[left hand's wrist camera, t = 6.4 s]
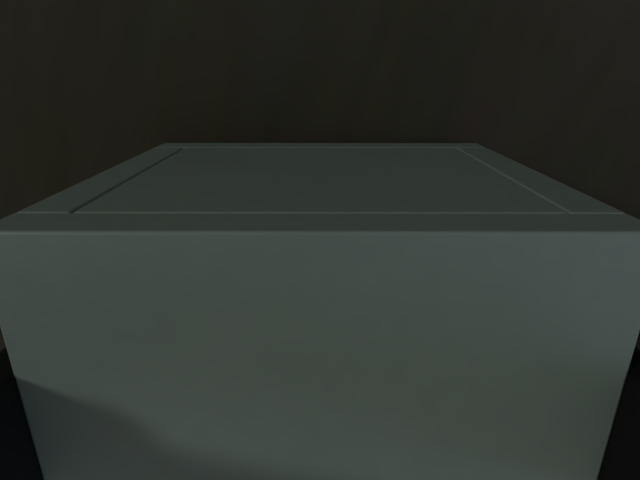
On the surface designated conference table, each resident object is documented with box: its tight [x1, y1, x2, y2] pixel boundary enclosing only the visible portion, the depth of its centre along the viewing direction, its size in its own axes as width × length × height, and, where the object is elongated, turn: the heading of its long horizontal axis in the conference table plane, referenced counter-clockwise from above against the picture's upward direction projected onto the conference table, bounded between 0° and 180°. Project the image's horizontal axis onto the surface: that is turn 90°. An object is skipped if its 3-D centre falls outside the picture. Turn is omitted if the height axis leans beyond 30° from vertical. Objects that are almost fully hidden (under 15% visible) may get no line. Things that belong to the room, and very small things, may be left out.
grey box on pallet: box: [0, 143, 640, 480], centre depth 15 cm, size 17×12×10 cm, turn 0°
